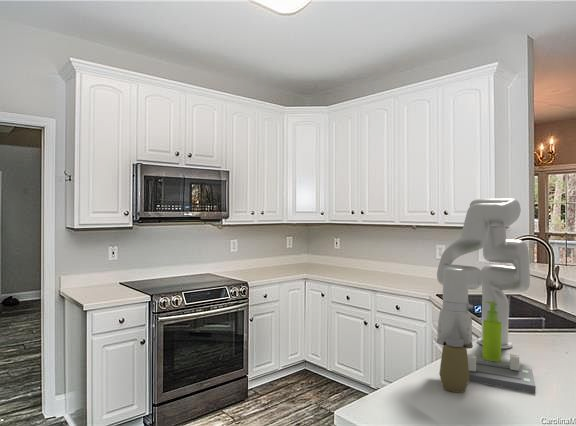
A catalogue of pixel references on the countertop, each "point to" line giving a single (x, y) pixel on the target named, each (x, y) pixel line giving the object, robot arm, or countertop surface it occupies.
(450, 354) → the squeeze bottle
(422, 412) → the countertop surface
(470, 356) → the block
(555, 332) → the countertop surface
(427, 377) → the countertop surface
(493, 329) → the soap dispenser
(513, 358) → the block
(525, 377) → the slider switch panel
